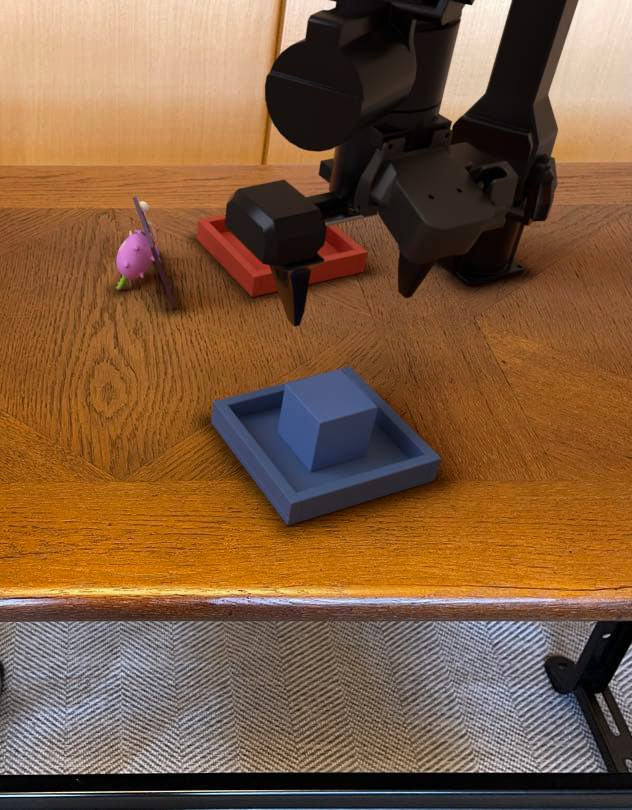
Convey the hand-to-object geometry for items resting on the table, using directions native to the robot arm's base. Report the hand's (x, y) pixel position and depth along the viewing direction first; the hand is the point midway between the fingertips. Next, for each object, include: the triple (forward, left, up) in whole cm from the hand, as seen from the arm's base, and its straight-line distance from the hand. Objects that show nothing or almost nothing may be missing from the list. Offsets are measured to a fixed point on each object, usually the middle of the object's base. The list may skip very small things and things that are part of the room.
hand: (349, 309), depth 66 cm
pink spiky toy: (+7, -20, -8) cm, 23 cm away
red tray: (-7, -20, -8) cm, 22 cm away
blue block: (+4, +5, -7) cm, 10 cm away
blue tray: (+4, +5, -8) cm, 10 cm away
